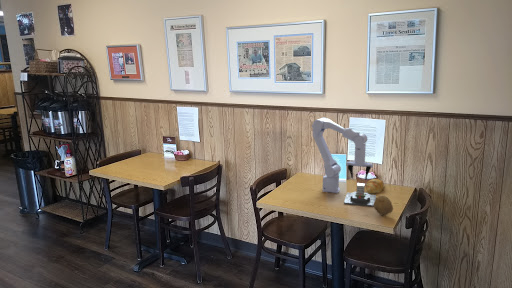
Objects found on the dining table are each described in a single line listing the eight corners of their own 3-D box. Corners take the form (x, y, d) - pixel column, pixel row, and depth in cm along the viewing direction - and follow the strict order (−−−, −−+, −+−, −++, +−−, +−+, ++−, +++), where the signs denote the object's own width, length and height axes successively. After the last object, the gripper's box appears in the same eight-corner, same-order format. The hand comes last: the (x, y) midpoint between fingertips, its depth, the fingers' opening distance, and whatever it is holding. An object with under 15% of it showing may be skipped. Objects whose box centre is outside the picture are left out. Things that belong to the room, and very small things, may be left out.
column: (356, 196, 210) (356, 185, 209) (356, 193, 214) (357, 182, 213) (364, 197, 209) (364, 186, 208) (364, 194, 213) (365, 183, 212)
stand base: (343, 204, 208) (344, 197, 207) (347, 194, 222) (347, 188, 221) (374, 207, 202) (374, 200, 202) (375, 196, 217) (376, 190, 216)
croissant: (371, 201, 219) (378, 191, 215) (357, 191, 224) (363, 180, 220) (385, 190, 235) (391, 180, 231) (371, 180, 240) (377, 170, 236)
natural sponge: (370, 211, 197) (371, 193, 195) (387, 210, 198) (388, 192, 195) (376, 218, 188) (377, 199, 186) (394, 217, 189) (395, 198, 186)
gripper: (345, 156, 213) (345, 179, 216) (372, 158, 208) (371, 181, 211) (347, 153, 220) (346, 175, 223) (373, 155, 215) (372, 178, 218)
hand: (358, 178), depth 218 cm, fingers open, 7 cm apart
